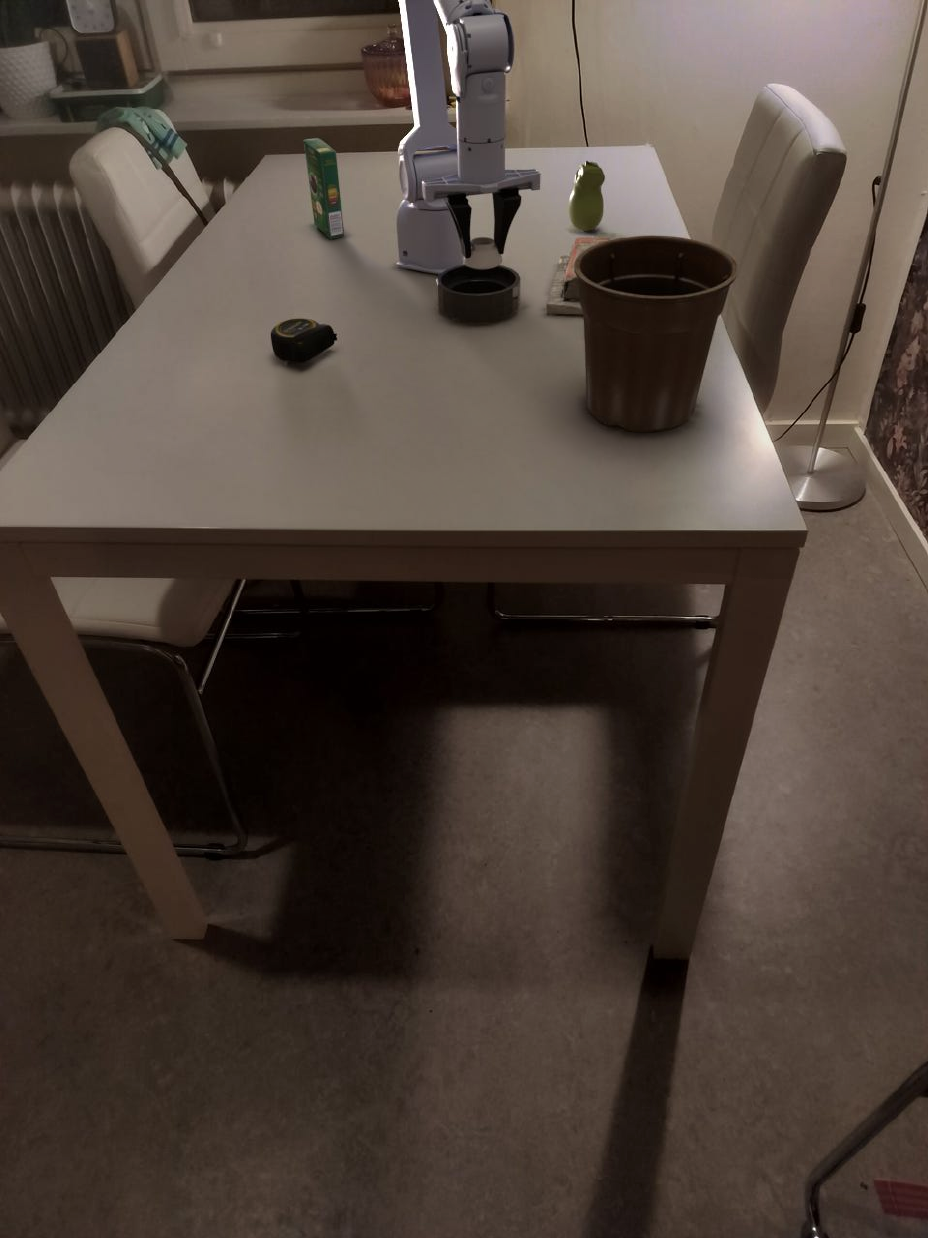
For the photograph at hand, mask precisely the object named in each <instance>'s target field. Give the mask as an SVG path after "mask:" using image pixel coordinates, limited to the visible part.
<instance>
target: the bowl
mask: <svg viewBox="0 0 928 1238" xmlns="http://www.w3.org/2000/svg"><path fill="white" fill-rule="evenodd" d="M521 279H522V278H521V276H520V274H519V272H517V271H516V270H515V269H514V268H512V267H508V266H506V265H502V264H500V265H498V266H496V267H494V268H491V269H482V270H480V269H474V268H470V267H468V266H466V265H465V264H464V265H459V266H455V267H452V268H449V269H447V270H445V271H443V272H442V273H440V274H438V276H437V278H436V280H435V281H436V284H435V285H436V303H437V304H436V305H437V308H438V311H439V312H440V313H441V314H442V315H443V316H445V317H447V318H450V319H452V320H455V321H457V322H461V323H469V324H485V323H487V324H488V323H492V322H497V321H500V320H502V319H506V318H508V317H510V316H512V315H514V314H515V313H516V312H517V311H518V310H519V309H520V305H521Z"/></svg>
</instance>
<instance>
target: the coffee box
mask: <svg viewBox="0 0 928 1238" xmlns="http://www.w3.org/2000/svg"><path fill="white" fill-rule="evenodd" d="M303 146H304V155H305V162H306V169H307V178H308V185H309V193H310V194H309V195H310V201H311V207H312V216H313V224H314V225H315V226H316V227H317V229H319V230H320V231H321V232H322V233H323V234H325V236H326V237H327V238H329V239H330V240H333V239H339V238H343V237H345V228H344V220H343V209H342V199H341V189H340V177H339V168H338V159H337V158H338V157H337V150H335V149H334V148H333V147H331V146H330V145H328V144H327V143H326V142H325V141H323V140H322V139H321V138H320V137H315V138H307V139H304V140H303Z"/></svg>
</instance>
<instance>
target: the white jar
mask: <svg viewBox="0 0 928 1238" xmlns="http://www.w3.org/2000/svg"><path fill="white" fill-rule="evenodd" d="M470 240H471V257H470V258H465V257H463V262H464V264H465V265H466V266H468V267H470V268H474V269H480V270H482V269H491V268H494V267H496V266H498V265H502V263H503V256H502V254H499V252H498V248H497V246H496V245H495V242H494V238H491V237H488V236H487V237H486V236H479V237H474V238H471V239H470Z"/></svg>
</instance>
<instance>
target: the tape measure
mask: <svg viewBox="0 0 928 1238" xmlns="http://www.w3.org/2000/svg"><path fill="white" fill-rule="evenodd" d="M337 336H338V333H336V332H335V331H334V329H333V327H332V326H331V325H330V324H326V323H321V324H320V323H319V322H317V321H316V320H314V319H312V318H311V319H310V318H305V317H299V318H298V317H296V318H289V319H286V320H283V321H281V322H278V323H277V324H275V326H273V328H271V331H270V341H271V342H270V343H271V348H272V351H273V354H274V355H275V357H276V358H278V359H279V360H281V361H284V362H289V363H297V364H305V363H308V362H310V361H311V360H312V359H315V357H317V356H319V355H320V354H322V353H323V352H324V351H327V350H328V349H330V348H331V347H333V346H334V344H335V342H336V341H338V337H337Z"/></svg>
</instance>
